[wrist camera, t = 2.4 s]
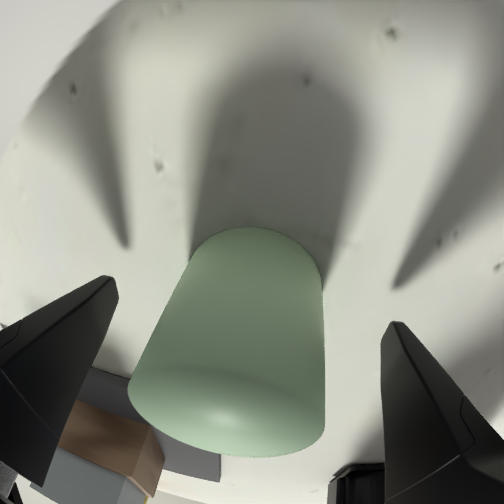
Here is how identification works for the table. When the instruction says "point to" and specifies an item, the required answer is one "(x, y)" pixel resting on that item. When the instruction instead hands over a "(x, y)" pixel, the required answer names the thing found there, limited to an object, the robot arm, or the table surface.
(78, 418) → the walnut base block
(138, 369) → the green rounded cylinder
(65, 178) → the table surface
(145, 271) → the table surface
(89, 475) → the slate grey block
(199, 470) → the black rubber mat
